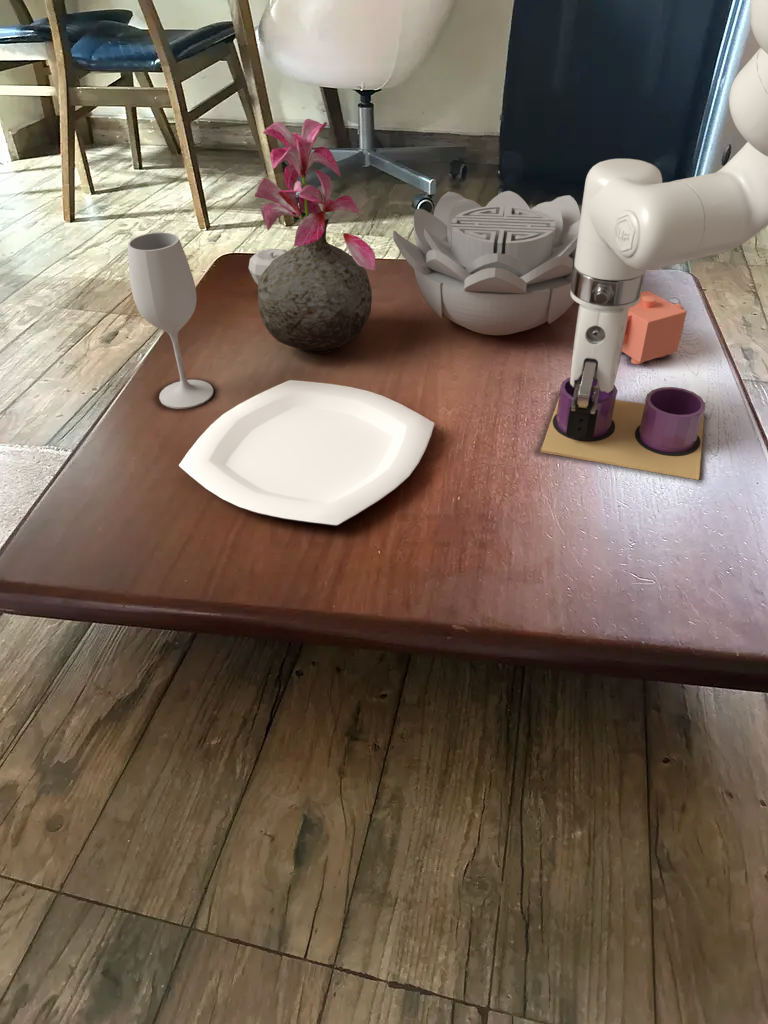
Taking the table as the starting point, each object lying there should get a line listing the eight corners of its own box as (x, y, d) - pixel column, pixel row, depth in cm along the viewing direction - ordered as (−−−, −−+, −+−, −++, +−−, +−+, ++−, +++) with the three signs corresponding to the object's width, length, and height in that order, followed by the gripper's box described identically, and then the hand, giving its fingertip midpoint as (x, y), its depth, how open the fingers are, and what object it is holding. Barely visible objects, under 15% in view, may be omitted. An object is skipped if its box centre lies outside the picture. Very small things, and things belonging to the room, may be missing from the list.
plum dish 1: (613, 413, 99) (620, 379, 95) (606, 442, 94) (613, 406, 91) (561, 405, 100) (565, 371, 97) (551, 433, 96) (556, 398, 92)
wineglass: (221, 381, 108) (193, 230, 95) (206, 410, 103) (174, 254, 89) (168, 379, 109) (133, 229, 96) (150, 408, 103) (111, 253, 90)
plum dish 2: (696, 426, 96) (706, 391, 93) (694, 457, 91) (704, 421, 88) (641, 418, 98) (648, 383, 94) (635, 447, 93) (643, 411, 90)
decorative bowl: (381, 363, 111) (378, 260, 101) (413, 278, 134) (412, 187, 124) (599, 377, 106) (618, 271, 97) (594, 286, 129) (608, 193, 119)
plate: (461, 430, 97) (462, 417, 96) (344, 560, 80) (343, 546, 79) (287, 379, 108) (285, 366, 107) (150, 483, 91) (146, 469, 89)
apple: (241, 292, 131) (236, 254, 127) (275, 276, 135) (271, 239, 131) (275, 304, 127) (270, 265, 123) (309, 288, 131) (305, 250, 127)
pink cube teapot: (693, 352, 111) (707, 298, 106) (626, 373, 107) (637, 317, 102) (655, 330, 116) (667, 277, 111) (590, 349, 113) (599, 295, 107)
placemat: (703, 415, 99) (704, 412, 98) (698, 480, 89) (699, 476, 88) (560, 393, 104) (561, 390, 103) (540, 452, 93) (541, 449, 93)
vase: (276, 316, 123) (250, 108, 104) (386, 318, 122) (380, 107, 103) (252, 369, 111) (218, 143, 91) (375, 373, 109) (366, 143, 90)
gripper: (633, 322, 78) (606, 464, 89) (649, 257, 91) (623, 388, 102) (558, 312, 80) (541, 452, 91) (584, 250, 93) (565, 380, 104)
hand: (584, 418), depth 97 cm, fingers open, 7 cm apart
